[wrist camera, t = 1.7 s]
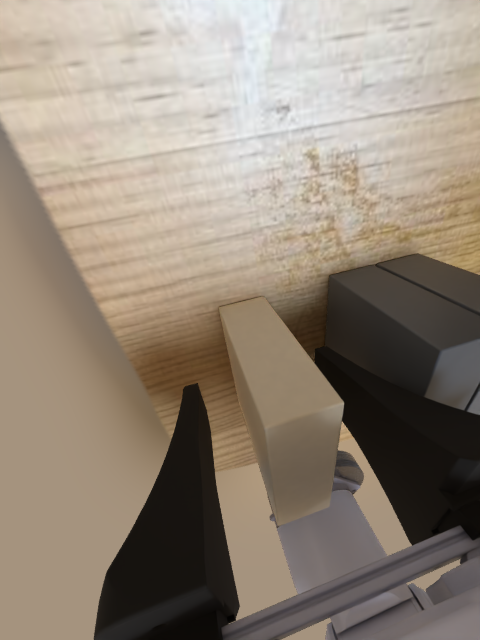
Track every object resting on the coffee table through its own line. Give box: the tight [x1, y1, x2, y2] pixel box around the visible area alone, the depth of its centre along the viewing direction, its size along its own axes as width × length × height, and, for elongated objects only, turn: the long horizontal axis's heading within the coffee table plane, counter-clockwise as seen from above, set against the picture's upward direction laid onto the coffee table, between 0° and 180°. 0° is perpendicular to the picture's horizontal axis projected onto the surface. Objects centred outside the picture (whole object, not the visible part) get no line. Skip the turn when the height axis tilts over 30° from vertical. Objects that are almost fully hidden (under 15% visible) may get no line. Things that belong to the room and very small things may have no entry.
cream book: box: [219, 296, 344, 526], centre depth 12 cm, size 2×7×7 cm, turn 8°
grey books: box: [325, 254, 480, 415], centre depth 13 cm, size 5×8×6 cm
